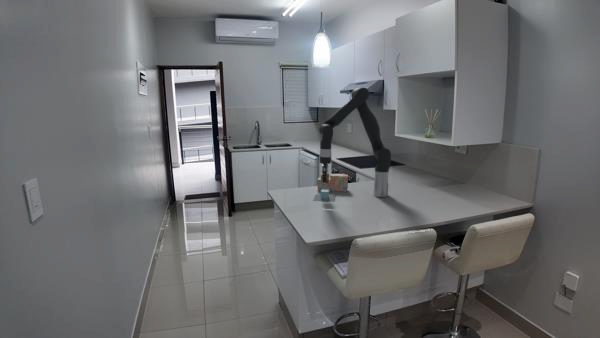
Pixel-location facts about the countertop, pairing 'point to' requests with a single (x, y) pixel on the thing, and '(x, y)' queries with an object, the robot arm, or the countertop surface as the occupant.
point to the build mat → (331, 199)
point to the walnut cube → (326, 178)
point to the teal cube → (324, 194)
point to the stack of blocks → (334, 183)
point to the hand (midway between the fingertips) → (324, 181)
